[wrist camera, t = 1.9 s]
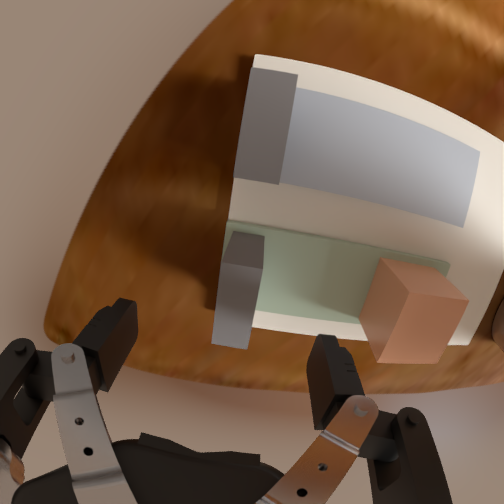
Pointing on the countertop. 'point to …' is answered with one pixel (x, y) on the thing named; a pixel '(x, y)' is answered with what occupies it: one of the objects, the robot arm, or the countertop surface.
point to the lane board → (384, 217)
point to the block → (410, 312)
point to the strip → (351, 150)
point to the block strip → (294, 277)
